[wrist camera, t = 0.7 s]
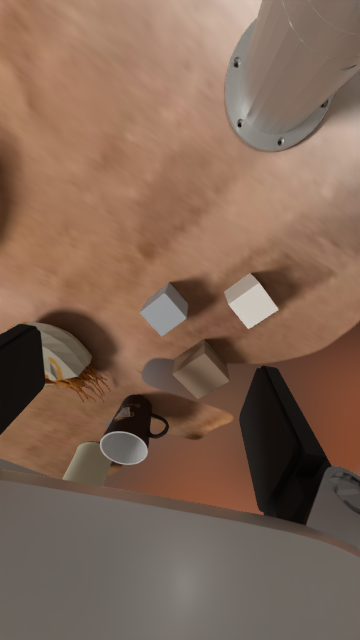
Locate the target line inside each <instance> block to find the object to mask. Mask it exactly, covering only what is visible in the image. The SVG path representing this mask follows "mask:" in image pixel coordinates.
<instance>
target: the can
mask: <svg viewBox="0 0 360 640" xmlns="http://www.w3.org/2000/svg"><path fill="white" fill-rule="evenodd" d="M111 463H112V460H110V459H108V458H107V457H106V456H105V455H104V454H103V453H102V451H101V449H100V443H97V442H85V443H82V444H81V445H79V447H78V448H77V451H76V453H75V455H74V458H73V459H72V461H71V463H70V465H69V467H68V469H67V471H66V473H65V475H64V477H63V479H62V480H68V481H74V482H80V483H86V484H92V485H98V486H103V484H104V481H105V478H106V475H107V473H108V470H109V467H110V465H111Z"/></svg>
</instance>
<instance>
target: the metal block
mask: <svg viewBox="0 0 360 640" xmlns="http://www.w3.org/2000/svg"><path fill="white" fill-rule="evenodd" d="M173 375H174V376H175V377H176V378H177V379H178V380H179V381H180V382H181V383H182V384H183V385H184V386H185V387H186V388H187V389H188V390H189V391H190V392H191V393H192V394H193V395H194V396H195V397H196V398H197V399H199V398H201V397H203V396H204V395H206V394H208V393H209V392H211V391H213V390H215V389H217V388H218V387H220V386H222V385H223V384H225V383H227V382H229V381H230V380H229V375H228V370H227V365H226V363H225V362H224V361H223V360H222V359H221V358H220V357H219V355H218V354H217V353H216V352H215V351H214V350H213V349H212V347H211V346H210V345H209V344H208V343H207V342H206V341H205V340H204V339H203V340H202V341H200V342H199V343H197V344H196V345H194V346H193V347H191V348H190V349H188V350H187V351H185V352H184V353H182V354H181V355H179V356H178V357H177V358H175V361H174V368H173Z"/></svg>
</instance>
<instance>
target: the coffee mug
mask: <svg viewBox="0 0 360 640" xmlns="http://www.w3.org/2000/svg"><path fill="white" fill-rule="evenodd" d="M151 412H152V405H151V403H150V401H149V400H148V399H147V398H145V397H143V396H140V395H131V396H128V397H127V398H125V400H124V401H123V403H122V405H121V406H120V408H119V410H118V411H117V413H116V415H115V417H114V418H113V420H112V422H111V423H110V425H109V427H108V429H107V430H106V432H105V434H104V435H103V437H102V439H101V441H100V449H101V451H102V453H103V454H104V455H105V456H106V457H107V458H108V459H110V460H112V461H114V462H116V463H119V464H125V465H132V464H137V463H140V462H141V461H143V460H144V459H145V458H146V456H147V454H148V445H149V437H151V438H159V437H162V436H163V435H165V434H166V433H167V431H168V428H169V425H168V422H167V421H166V420H165V419H164V418H163V417H161V416H158V415H156V414H153V413H151ZM151 416H152V417H155V418H157V419H159V420H162V421H163V422H164V423H165V424H166V427H165V429H164V431H162V432H161V433H160V434H156V435H154V434H152V433H151V432H150V423H151Z"/></svg>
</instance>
